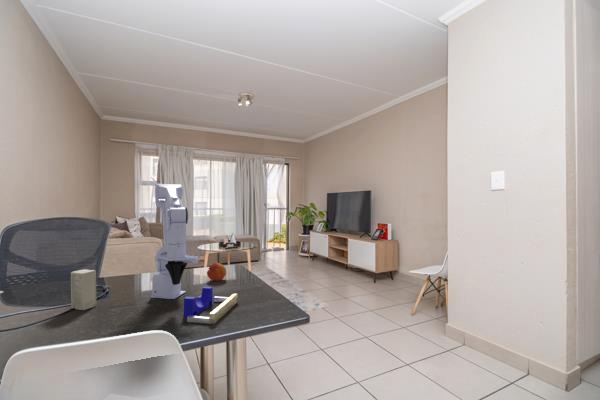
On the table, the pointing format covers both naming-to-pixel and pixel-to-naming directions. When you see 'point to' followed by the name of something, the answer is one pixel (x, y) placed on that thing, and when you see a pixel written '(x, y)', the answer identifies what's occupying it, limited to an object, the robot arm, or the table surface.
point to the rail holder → (216, 310)
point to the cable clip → (198, 302)
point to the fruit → (216, 272)
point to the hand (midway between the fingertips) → (176, 284)
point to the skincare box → (83, 289)
